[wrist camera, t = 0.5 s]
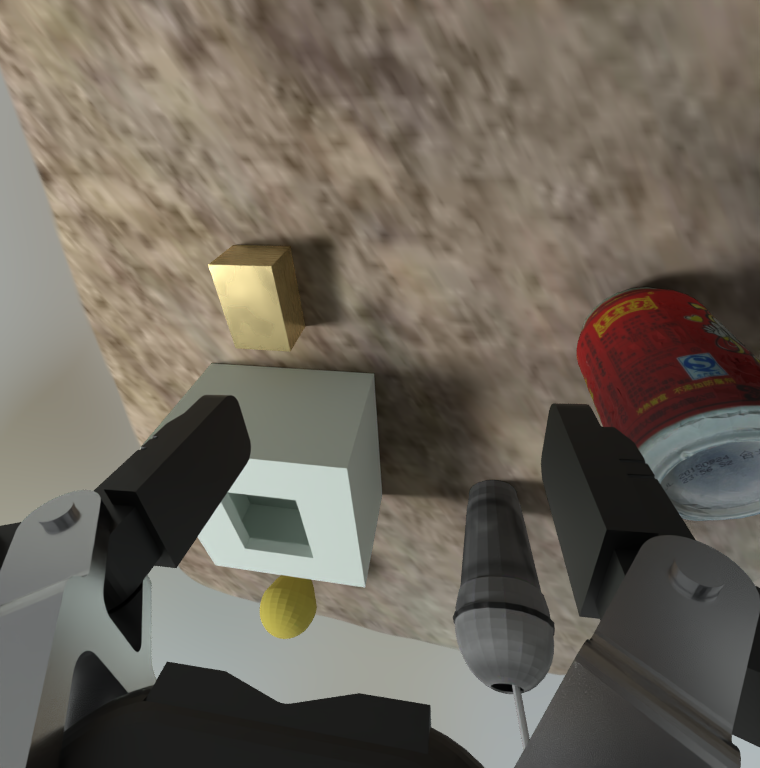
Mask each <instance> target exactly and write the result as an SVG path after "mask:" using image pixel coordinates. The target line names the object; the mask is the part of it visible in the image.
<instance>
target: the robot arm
mask: <svg viewBox="0 0 760 768" xmlns="http://www.w3.org/2000/svg"><path fill="white" fill-rule="evenodd" d="M250 453H251V442H250V438H249V435H248V431H247V428H246V425H245V422H244V418H243V415H242V412H241V409H240V405H239V402H238V400H237V399H236V398H235V397H234V396H232V395H204V396H202V397H201V398H199V399H198V400H197V401H196V402H195V403H194V404H193V405H192V406H191V407H190V408H189V409H188V410H187V411H186V412H185V413H184V414H182V415H180V416H178V417H177V418H175V419H173V420H171V421H170V422H168V423H166V424H165V425H164V426H163V427H162V428H161V429H160V430H159V431H158V432H157V433H156V434H155V435H153V439H149V440H148V441H147V442H146V443H145V444H144V445H143V446H142V447H141V450H137V451H136V452H135V453H134V454H133V455H132V456H131V457H130V458H129V459H127V460H126V461H125V462H124V463H123V464H122V465H121V466H120V467H119V468H118V469H117V470H116V471H115V472H113V473H112V474H111V475H110V476H109V477H108V478H107V479H106V480H105V481H104V482H103V483H102V484H100V485H99V487H97V488H96V489H95V490H94V491H91V490H81V491H74V492H70V493H67V494H64V495H61V496H59V497H56V498H54V499H52V500H50V501H48V502H47V503H45V504H43V505H42V506H40V507H38V508H37V509H36V510H34V511H33V512H32V513H31V514H29V515H28V516H27V517H26V518H25V519H24V520H23V521H22V522H20V523H14V524H9V525H3V526H0V768H484V767H483V766H482V764H481V763H479V762H478V761H477V760H476V759H475V758H474V757H473V756H472V755H471V754H470V753H469V752H468V751H467V750H465V749H464V748H463V747H462V746H460V745H459V744H458V743H456V742H455V741H453V740H452V739H451V738H449V737H448V736H446V735H444V734H442V733H441V732H439V731H437V730H435V729H433V728H431V710H430V705H427V704H420V703H415V702H408V701H402V700H396V699H390V698H384V697H377V696H371V695H366V694H360V693H358V694H352V695H345V696H338V697H332V698H325V699H319V700H312V701H305V702H299V703H292V704H284V703H280V702H277V701H275V700H274V699H272V698H270V697H269V696H267V695H265V694H263V693H262V692H260V691H258V690H257V689H255V688H253V687H251V686H250V685H248V684H246V683H245V682H242V681H241V680H240V679H238V678H236V677H234V676H232V675H231V674H229V673H228V672H225V671H220V670H214V669H208V668H202V667H196V666H190V665H184V664H178V663H172V662H167V663H166V665H165V666H164V668H163V670H162V671H161V673H160V675H159V677H158V679H157V680H156V677H155V674H154V671H153V666H152V656H151V632H152V631H151V630H152V623H151V617H152V616H151V613H152V611H151V610H152V606H151V604H152V603H151V602H152V599H151V598H152V591H151V589H152V588H151V587H152V585H151V581H150V579H149V577H148V573H149V572H150V570H151V569H152V568H153V566H163V567H171V568H177V566H178V565H179V563H180V562H181V560H182V559H183V557H184V556H185V554H186V553H187V552H188V550H189V549H190V547H191V546H192V544H193V543H194V541H195V540H196V538H197V537H198V535H199V534H200V532H201V531H202V529H203V528H204V526H205V525H206V523H207V522H208V521H209V519H210V518H211V516H212V515H213V513H214V512H215V510H216V509H217V507H218V506H219V504H220V503H221V501H222V500H223V498H224V497H225V495H226V494H227V492H228V491H229V490H230V488H231V487H232V485H233V484H234V482H235V481H236V479H237V478H238V476H239V475H240V473H241V472H242V470H243V469H244V467H245V466H246V464H247V463H248V460H249V458H250ZM541 471H542V479H543V484H544V487H545V491H546V495H547V499H548V502H549V506H550V510H551V513H552V517H553V521H554V524H555V528H556V532H557V535H558V539H559V543H560V546H561V550H562V554H563V557H564V561H565V565H566V568H567V572H568V576H569V579H570V583H571V587H572V591H573V594H574V598H575V602H576V605H577V609H578V613H579V616H581V617H589V618H598V619H600V620H601V621H600V623H599V625H598V627H597V629H596V631H595V632H594V634H593V636H592V637H591V639H590V640H588V639H587V640H586V641H585V643H584V644H583V646H582V647H581V649H580V651H579V652H578V654H577V656H576V657H575V659H574V661H573V663H572V665H571V666H570V668H569V670H568V672H567V674H566V675H565V677H564V679H563V681H562V683H561V684H560V686H559V688H558V690H557V692H556V693H555V695H554V697H553V699H552V701H551V702H550V704H549V706H548V708H547V710H546V711H545V713H544V715H543V717H542V719H541V720H540V722H539V724H538V726H537V728H536V729H535V731H534V733H533V735H532V737H531V738H530V740H529V742H528V744H527V746H526V747H525V749H524V751H523V753H522V755H521V757H520V758H519V760H518V762H517V764H516V765H515V767H514V768H740V767H741V757H740V751H739V749H738V747H737V746H735V745H734V744H733V743H732V735H735V736H737V737H739V738H741V739H743V740H745V741H748V742H750V743H752V744H754V745H756V746H758V747H760V588H759V587H757V586H755V585H754V583H753V582H752V580H751V579H750V578H749V576H748V575H747V574H746V573H745V572H744V571H743V570H742V569H741V568H740V567H739V566H738V565H737V564H736V563H735V562H733V561H732V560H731V559H729V558H728V557H727V556H725V555H724V554H722V553H721V552H719V551H718V550H716V549H714V548H712V547H710V546H708V545H706V544H703V543H701V542H699V541H696V540H695V538H694V537H693V535H692V534H691V532H690V530H689V529H688V527H687V526H686V524H685V522H684V521H683V519H682V518H681V516H680V515H679V513H678V511H677V510H676V508H675V507H674V505H673V503H672V502H671V500H670V499H669V497H668V495H667V494H666V492H665V491H664V489H663V488H662V486H661V484H660V483H659V481H658V480H657V479H655V475H654V473H653V472H652V470H651V468H650V467H649V465H648V464H645V459H644V457H643V456H642V454H641V453H640V451H639V449H638V448H637V446H636V445H635V443H634V442H633V441H632V440H630V439H629V438H628V437H627V436H625V435H624V434H623V433H621V432H620V431H619V430H617V429H616V428H615V427H601V425H600V424H599V422H598V420H597V418H596V416H595V414H594V413H593V411H592V409H591V407H590V406H589V405H587V404H552V405H551V407H550V410H549V415H548V421H547V427H546V433H545V439H544V445H543V451H542V458H541Z"/></svg>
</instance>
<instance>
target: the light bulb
mask: <svg viewBox="0 0 760 768" xmlns="http://www.w3.org/2000/svg"><path fill="white" fill-rule="evenodd" d="M316 608H317V606H316V599H315V593H314V587H313V584H312V580H311V579H305V578H298V577H291V576H285V575H281V576H280V577H278V578H277V579H276V580H275V581H274V583H273V584H272V585H271V586H270V587H269V588H268V589H267V590H266V591H265V593H264V595H263V597H262V600H261V604H260V617H261V621H262V623H263V625H264V627H265V629H266V630H267V631H268V632H269V633H270V634H271V635H273V636H275V637H277V638H282V639H287V638H293V637H295V636H298V635H300V634H301V633H302V632H304V631H305V630H306V629H307V628H308V626H309V625H310V623H311V622H312V620H313V618H314V616H315V613H316Z"/></svg>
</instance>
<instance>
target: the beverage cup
mask: <svg viewBox="0 0 760 768" xmlns="http://www.w3.org/2000/svg"><path fill="white" fill-rule="evenodd" d="M453 620H454V624H455V632H456V637H457V642H458V645H459V648H460V651H461V653H462V655H463V657H464V659H465V662H466V664H467V665H468V667H469V668H470V670H471V671H472V672H473V674H474V675H475V676H476V677H477V678H478V679H479V680H480V681H481V682H483V683H484V684H485V685H486V686H488V687H490V688H491V689H493V690H495V691H498V692H502V693H506V694H514V699H515V705H516V710H517V715H518V722H519V728H520V733H521V739H522V744H523V750H524V749H525V747H526V746H527V744H528V742H529V740H530V739H529V733H528V728H527V723H526V717H525V712H524V706H523V701H522V695H521V693H524V692H527V691H529V690H531V689H533V688H534V687H536V686H537V685H538V684H539V683H540V682H541V681H542V680H543V679H544V677H545V676H546V674H547V673H548V671H549V669H550V666H551V663H552V659H553V654H554V638H553V636H554V631H555V628H554V622H553V621H552V620H551V619H550V614H549V609H548V607H547V604H546V601H545V598H544V595H543V594H542V593H541V589H540V585H539V581H538V577H537V573H536V568H535V564H534V560H533V556H532V552H531V547H530V543H529V539H528V535H527V531H526V526H525V522H524V518H523V514H522V510H521V505H520V504H519V500H518V497H517V492H516V490H515V489H514V487H512V486H511V485H509V484H508V483H505V482H502V481H497V480H486V481H482V482H479V483H477V484H475V485H473V487H472V488H471V489H470V492H469V501H468V506H467V515H466V527H465V539H464V550H463V562H462V574H461V586H460V589H459V592H458V598H457V603H456V611H455V613H454V616H453Z"/></svg>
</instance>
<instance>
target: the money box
mask: <svg viewBox="0 0 760 768" xmlns="http://www.w3.org/2000/svg"><path fill="white" fill-rule="evenodd" d="M204 395H232V396H234V397H235V398H236V399H237V400H238V402H239V405H240V409H241V412H242V415H243V418H244V422H245V425H246V428H247V431H248V435H249V438H250V442H251V453H250V458H249V460H248V463H247V464H246V466H245V467H244V469H243V470H242V472H241V473H240V475H239V476H238V478H237V479H236V481H235V482H234V484H233V485H232V487H231V488H230V490H229V491H228V492H227V494H226V495H225V497H224V498H223V500H222V501H221V503H220V504H219V506H218V507H217V509H216V510H215V512H214V513H213V515H212V516H211V518H210V519H209V521H208V522H207V523H206V525H205V526H204V528H203V529H202V531H201V532H200V534H199V535H198V538H199V540H200V541H201V543H202V545H203V546H204V548H205V549H206V551H207V552H208V554H209V556H210V557H211V559H212V560H213V562H214V563H215V565H218V566H224V567H231V568H238V569H244V570H251V571H258V572H265V573H271V574H278V575H285V576H291V577H298V578H305V579H312V580H318V581H325V582H332V583H339V584H345V585H352V586H359V587H365V586H366V580H367V575H368V570H369V564H370V559H371V553H372V548H373V542H374V537H375V531H376V526H377V521H378V515H379V510H380V504H381V499H382V483H381V469H380V454H379V439H378V425H377V410H376V396H375V381H374V374H373V373H357V372H341V371H325V370H309V369H293V368H277V367H261V366H245V365H229V364H213V363H211V364H210V366H209V367H208V368H207V369H206V370H205V371H204V373H203V374H202V375H201V376H200V377H199V379H198V380H197V381H196V382H195V383H194V385H193V386H192V387H191V388H190V389H189V390H188V392H187V393H186V394H185V395H184V396H183V398H182V399H181V400H180V401H179V402H178V403H177V405H176V406H175V407H174V408H173V409H172V411H171V412H170V413H169V414H168V415H167V416H166V418H165V419H164V420H163V421H162V422H161V424H160V425H159V426H158V427H157V428H156V429H155V431H154V432H153V433H152V434H151V435H150V437H149V438H148V439H147V440H146V441H145V442H144V444H145V443H146V442H147V441H148V440H149V439H153V435H155V434H156V433H157V432H158V431H159V430H160V429H161V428H162V427H163V426H164V425H165V424H166V423H168V422H170V421H171V420H173V419H175V418H177V417H178V416H180V415H182V414H184V413H185V412H186V411H187V410H188V409H189V408H190V407H191V406H192V405H193V404H194V403H195V402H196V401H197V400H198V399H199V398H201V397H202V396H204ZM144 444H143V445H144ZM143 445H142V446H143ZM142 446H141V447H142ZM141 447H140V448H141Z"/></svg>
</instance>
